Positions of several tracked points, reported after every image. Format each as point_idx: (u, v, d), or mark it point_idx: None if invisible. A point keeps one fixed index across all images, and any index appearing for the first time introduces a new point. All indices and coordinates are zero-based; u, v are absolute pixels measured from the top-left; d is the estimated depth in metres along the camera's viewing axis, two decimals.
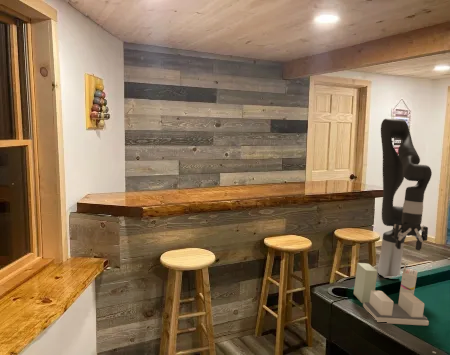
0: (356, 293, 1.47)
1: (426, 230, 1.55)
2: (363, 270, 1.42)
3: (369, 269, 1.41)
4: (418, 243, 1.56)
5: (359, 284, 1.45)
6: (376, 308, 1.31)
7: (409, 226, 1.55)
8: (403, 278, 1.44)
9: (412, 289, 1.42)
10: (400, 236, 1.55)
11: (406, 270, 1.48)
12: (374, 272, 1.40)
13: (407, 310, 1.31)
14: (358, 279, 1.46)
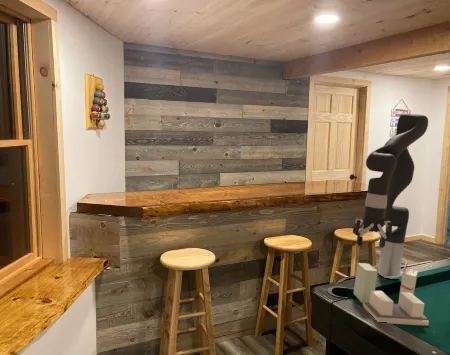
0: (356, 293, 1.47)
1: (390, 226, 1.41)
2: (363, 270, 1.42)
3: (368, 269, 1.41)
4: (381, 240, 1.42)
5: (359, 284, 1.45)
6: (376, 308, 1.31)
7: (371, 221, 1.41)
8: (403, 278, 1.44)
9: (412, 289, 1.42)
10: (361, 232, 1.41)
11: (406, 270, 1.48)
12: (374, 272, 1.40)
13: (407, 310, 1.31)
14: (358, 279, 1.46)
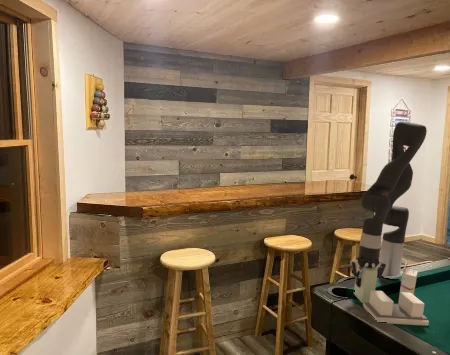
0: (356, 293, 1.47)
1: (383, 267, 1.43)
2: (363, 270, 1.42)
3: (369, 269, 1.41)
4: None
5: None
6: (376, 308, 1.31)
7: (366, 260, 1.43)
8: (403, 278, 1.44)
9: (412, 289, 1.42)
10: (359, 274, 1.43)
11: (406, 270, 1.48)
12: (374, 272, 1.40)
13: (407, 310, 1.31)
14: None
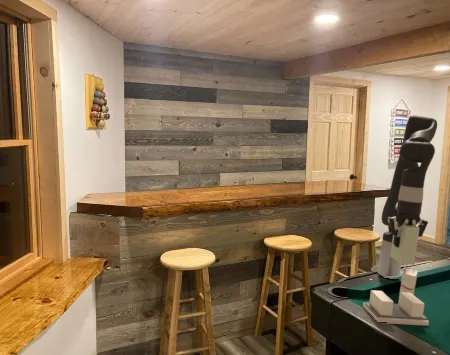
0: (393, 255, 1.32)
1: (425, 225, 1.28)
2: (403, 227, 1.27)
3: (409, 226, 1.26)
4: None
5: None
6: (376, 308, 1.31)
7: (406, 217, 1.28)
8: (403, 278, 1.44)
9: (412, 289, 1.42)
10: (398, 232, 1.28)
11: (406, 270, 1.48)
12: (416, 229, 1.25)
13: (407, 310, 1.31)
14: None
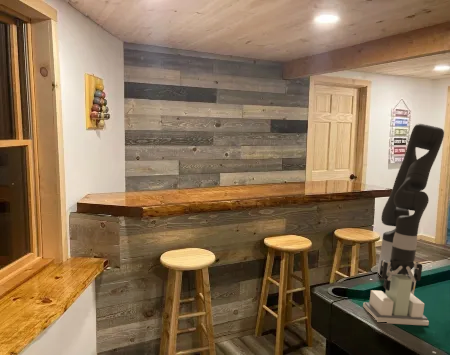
0: None
1: (420, 268, 1.30)
2: (396, 279, 1.29)
3: (402, 279, 1.28)
4: None
5: (391, 294, 1.32)
6: (376, 308, 1.31)
7: (400, 263, 1.29)
8: None
9: None
10: (389, 275, 1.30)
11: None
12: (408, 281, 1.27)
13: None
14: None
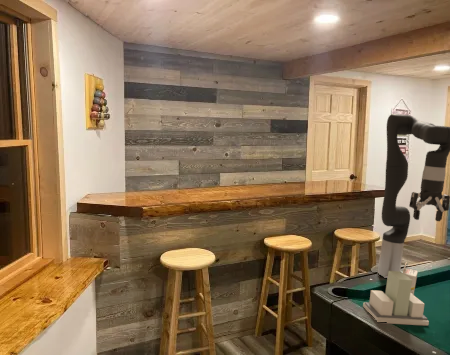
0: None
1: (448, 199, 1.41)
2: (396, 279, 1.29)
3: (402, 279, 1.28)
4: (438, 213, 1.42)
5: (391, 294, 1.32)
6: (376, 308, 1.31)
7: (429, 194, 1.40)
8: None
9: (412, 289, 1.42)
10: (419, 205, 1.41)
11: (406, 270, 1.48)
12: (408, 281, 1.27)
13: None
14: (389, 288, 1.33)
